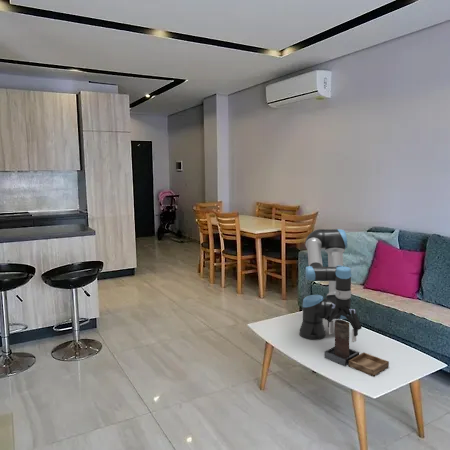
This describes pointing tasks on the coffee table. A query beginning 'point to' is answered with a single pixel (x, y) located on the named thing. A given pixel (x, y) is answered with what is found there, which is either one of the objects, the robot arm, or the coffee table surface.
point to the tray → (368, 364)
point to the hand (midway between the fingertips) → (342, 337)
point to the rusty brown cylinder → (342, 338)
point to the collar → (342, 361)
